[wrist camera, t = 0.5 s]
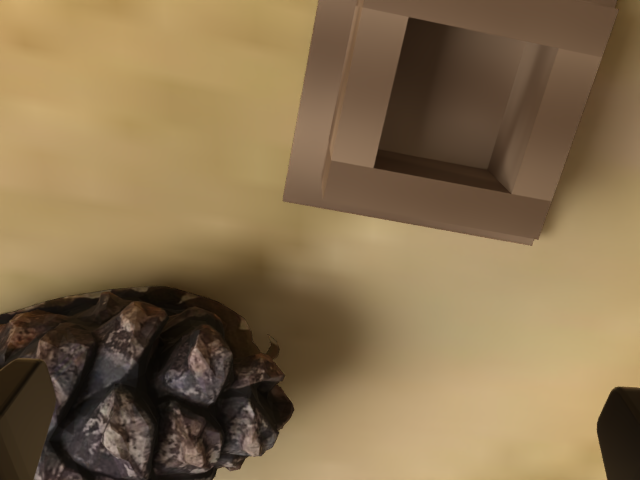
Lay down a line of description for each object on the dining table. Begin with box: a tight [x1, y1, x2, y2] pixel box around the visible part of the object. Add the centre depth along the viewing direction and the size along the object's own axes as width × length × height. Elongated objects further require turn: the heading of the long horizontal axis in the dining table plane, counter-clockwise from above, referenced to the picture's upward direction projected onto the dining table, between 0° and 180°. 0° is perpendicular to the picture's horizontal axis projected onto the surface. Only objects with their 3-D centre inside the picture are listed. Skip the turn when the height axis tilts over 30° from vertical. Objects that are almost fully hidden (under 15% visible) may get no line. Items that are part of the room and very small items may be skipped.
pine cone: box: [0, 287, 294, 480], centre depth 23 cm, size 10×18×10 cm, turn 115°
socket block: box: [283, 0, 619, 246], centre depth 21 cm, size 10×10×4 cm
